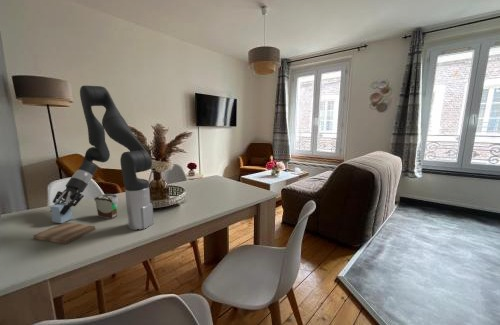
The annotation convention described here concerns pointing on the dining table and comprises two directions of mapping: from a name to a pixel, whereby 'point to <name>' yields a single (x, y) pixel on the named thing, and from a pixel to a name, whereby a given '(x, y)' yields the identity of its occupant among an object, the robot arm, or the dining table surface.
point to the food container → (106, 205)
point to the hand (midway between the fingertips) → (57, 213)
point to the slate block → (60, 217)
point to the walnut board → (64, 232)
